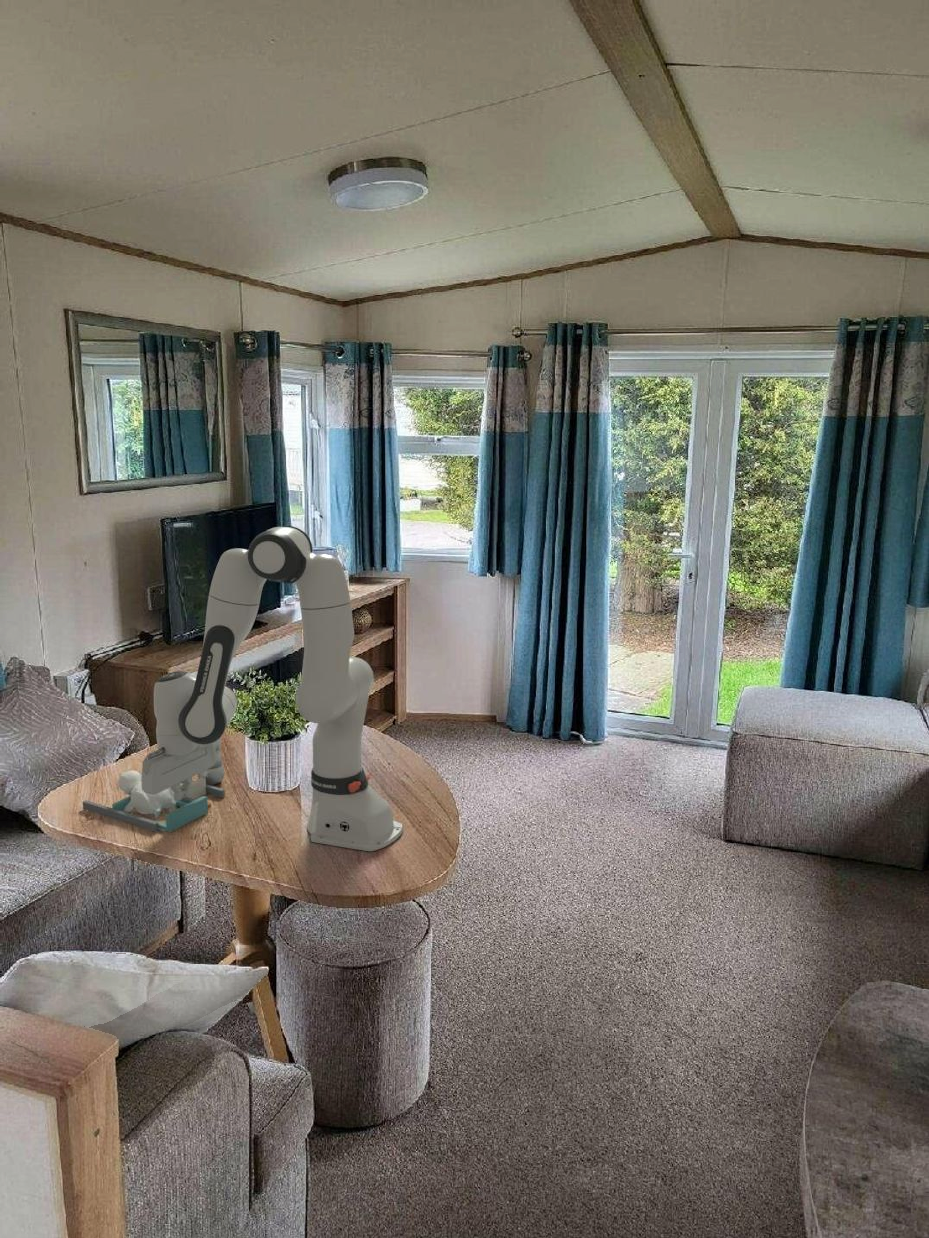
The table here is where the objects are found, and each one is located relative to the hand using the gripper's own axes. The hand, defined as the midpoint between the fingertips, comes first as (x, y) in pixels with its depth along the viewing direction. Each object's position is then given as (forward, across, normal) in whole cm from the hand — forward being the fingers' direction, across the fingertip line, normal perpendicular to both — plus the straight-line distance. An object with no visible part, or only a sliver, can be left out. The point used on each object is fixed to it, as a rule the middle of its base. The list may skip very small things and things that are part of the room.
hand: (182, 797), depth 202 cm
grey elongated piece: (+5, +11, +16) cm, 20 cm away
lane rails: (+6, +4, +14) cm, 15 cm away
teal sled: (+6, 0, +8) cm, 9 cm away
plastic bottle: (+6, +20, +10) cm, 23 cm away
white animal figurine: (+6, +1, +13) cm, 14 cm away
